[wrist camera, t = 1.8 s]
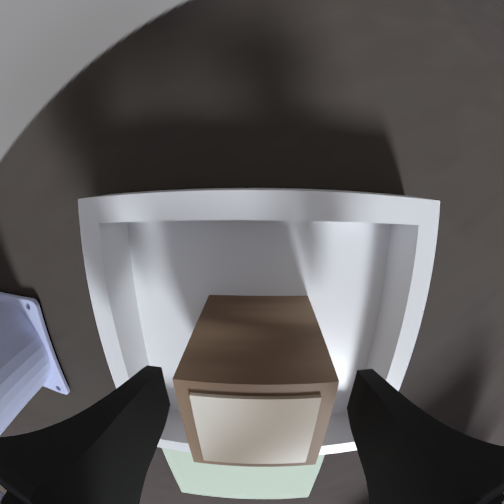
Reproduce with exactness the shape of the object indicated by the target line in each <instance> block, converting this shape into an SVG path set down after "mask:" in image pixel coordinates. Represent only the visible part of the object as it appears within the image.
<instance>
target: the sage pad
mask: <svg viewBox="0 0 504 504" xmlns="http://www.w3.org/2000/svg"><path fill="white" fill-rule="evenodd" d="M162 450H163V452H164V454H165V457H166V459H167V461H168V464H169V466H170V468H171V470H172V473H173V475H174V477H175V479H176V481H177V483H178V485H179V487H180V489H181V491H182V492H185V493H191V494H198V495H205V496H214V497H225V498H241V499H286V498H302V497H308V496H309V494H310V491H311V489H312V487H313V484H314V482H315V479H316V477H317V474H318V472H319V469H320V467H321V464H322V461H323V459H324V456H325V454H323V455H318V458H317V461H316V464H314V465H302V466H282V467H248V466H228V465H216V464H206V463H197V462H194V461H193V457H192V454H191V452H184V451H177V450H171V449H166V448H162Z"/></svg>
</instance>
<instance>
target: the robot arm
mask: <svg viewBox="0 0 504 504" xmlns="http://www.w3.org/2000/svg"><path fill="white" fill-rule="evenodd" d="M42 386H44V387H47V388H49V389H52V390H54V391H57V392H60V393H63V394H66V395H67V394H68V393H69V392H70V389H69V387H68V384H67V382H66V380H65V378H64V375H63V373H62V370H61V368H60V366H59V363H58V360H57V358H56V355H55V352H54V350H53V347H52V344H51V341H50V338H49V335H48V332H47V329H46V326H45V323H44V319H43V316H42V312H41V309H40V305H39V303H38V301H37V300H36V299H34V298H29V297H24V296H18V295H13V294H8V293H3V292H0V435H1V434H2V433H3V431H4V430H5V429H6V428H7V426H8V425H9V424H10V423H11V422H12V420H13V419H14V418H15V417H16V416H17V414H18V413H19V412H20V411H21V410H22V409H23V407H24V406H25V405H26V404H27V403H28V402H29V400H30V399H31V398H32V397H33V396H34V395H35V394H36V393H37V391H38V390H39V389H40V388H41V387H42ZM169 408H170V401H169V397H168V393H167V389H166V385H165V381H164V376H163V372H162V367H156V366H149V365H147V366H145V367H144V368H142V369H141V370H140V371H139V372H137V373H136V374H135V375H133V376H132V377H131V378H130V379H128V380H127V381H126V382H125V383H123V384H122V385H121V386H119V387H118V388H117V389H115V390H114V391H113V392H111V393H110V394H109V395H107V396H106V397H104V398H103V399H101V400H100V401H98V402H97V403H95V404H94V405H92V406H91V407H89V408H87V409H86V410H84V411H82V412H80V413H79V414H77V415H75V416H73V417H71V418H69V419H67V420H64V421H62V422H60V423H57V424H55V425H52V426H49V427H47V428H44V429H41V430H37V431H34V432H30V433H26V434H22V435H16V436H9V437H1V438H0V485H1V486H3V487H4V488H5V489H6V490H7V492H6V494H5V495H4V494H3V493H2V492H1V491H0V504H139V502H140V497H141V492H142V488H143V484H144V480H145V476H146V473H147V470H148V468H149V465H150V463H151V460H152V458H153V455H154V453H155V450H156V448H157V445H158V443H159V440H160V438H161V435H162V433H163V430H164V428H165V425H166V421H167V417H168V413H169ZM347 412H348V418H349V424H350V429H351V432H352V435H353V438H354V442H355V445H356V448H357V451H358V454H359V457H360V460H361V463H362V466H363V470H364V473H365V477H366V481H367V487H368V493H369V500H370V504H502V503H501V502H503V501H504V494H503V492H504V446H498V445H494V444H491V443H487V442H484V441H480V440H477V439H475V438H472V437H469V436H467V435H465V434H462V433H460V432H458V431H456V430H454V429H452V428H450V427H448V426H446V425H445V424H443V423H441V422H439V421H438V420H436V419H434V418H433V417H431V416H430V415H428V414H427V413H425V412H424V411H423V410H421V409H420V408H418V407H417V406H416V405H414V404H413V403H412V402H411V401H409V400H408V399H407V398H406V397H404V396H403V395H402V394H401V393H400V392H398V391H397V390H396V389H395V388H394V387H393V386H392V385H390V384H389V383H388V382H387V381H386V380H385V379H384V378H382V377H381V376H380V375H379V374H378V373H377V372H376V371H374V370H373V369H364V370H357V373H356V377H355V380H354V384H353V388H352V391H351V395H350V398H349V402H348V405H347Z"/></svg>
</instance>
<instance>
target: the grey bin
mask: <svg viewBox="0 0 504 504" xmlns="http://www.w3.org/2000/svg"><path fill="white" fill-rule="evenodd" d="M78 208H79V221H80V232H81V241H82V249H83V256H84V263H85V270H86V276H87V281H88V287H89V292H90V297H91V302H92V306H93V311H94V315H95V319H96V323H97V327H98V331H99V335H100V339H101V342H102V346H103V349H104V353H105V356H106V359H107V362H108V366H109V369H110V372H111V375H112V378H113V381H114V383H115V386H116V389H117V388H118V387H119V386H121V385H122V384H123V383H125V382H126V381H127V380H128V379H130V378H131V377H132V376H133V375H135V374H136V373H137V372H139V371H140V370H141V369H142V368H144V367H145V366H147V365H149V366H156V367H162V372H163V376H164V381H165V385H166V389H167V393H168V397H169V401H170V408H169V413H168V417H167V421H166V425H165V428H164V430H163V433H162V435H161V438H160V440H159V443H158V445H157V447H160V448H166V449H171V450H177V451H184V452H191V451H190V447H189V444H188V440H187V437H186V433H185V430H184V426H183V422H182V418H181V414H180V410H179V406H178V402H177V397H176V393H175V389H174V384H173V376H174V374H175V372H176V369H177V367H178V365H179V362H180V360H181V358H182V355H183V353H184V351H185V348H186V346H187V344H188V341H189V339H190V337H191V335H192V332H193V330H194V328H195V325H196V323H197V321H198V319H199V316H200V314H201V312H202V310H203V307H204V305H205V303H206V301H207V298H208V296H209V295H240V296H308V297H309V300H310V303H311V305H312V308H313V311H314V313H315V316H316V318H317V321H318V324H319V327H320V329H321V332H322V335H323V337H324V340H325V343H326V346H327V348H328V351H329V354H330V357H331V360H332V362H333V365H334V368H335V371H336V374H337V377H338V379H339V385H338V389H337V393H336V397H335V401H334V405H333V409H332V412H331V416H330V420H329V423H328V427H327V430H326V433H325V437H324V440H323V443H322V446H321V449H320V452H319V455H323V454H332V453H340V452H347V451H353V450H357V448H356V445H355V442H354V438H353V435H352V432H351V429H350V424H349V418H348V412H347V405H348V402H349V398H350V395H351V391H352V388H353V384H354V380H355V377H356V373H357V370H364V369H373V370H374V371H376V372H377V373H378V374H379V375H380V376H381V377H382V378H384V379H385V380H386V381H387V382H388V383H389V384H390V385H392V386H393V387H394V388H395V389H396V390H397V391H399V389H400V386H401V383H402V381H403V378H404V375H405V372H406V370H407V367H408V364H409V361H410V358H411V355H412V352H413V348H414V345H415V342H416V338H417V335H418V331H419V328H420V324H421V320H422V316H423V312H424V308H425V304H426V299H427V295H428V290H429V285H430V280H431V274H432V269H433V263H434V256H435V249H436V241H437V233H438V223H439V211H440V201H437V200H432V199H426V198H419V197H413V196H406V195H396V194H385V193H373V192H359V191H343V190H324V189H296V188H206V189H178V190H159V191H143V192H129V193H117V194H108V195H101V196H94V197H88V198H81V199H78Z"/></svg>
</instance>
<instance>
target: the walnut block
mask: <svg viewBox="0 0 504 504" xmlns="http://www.w3.org/2000/svg"><path fill="white" fill-rule="evenodd" d="M173 384H174V389H175V393H176V397H177V402H178V406H179V410H180V414H181V418H182V422H183V426H184V430H185V433H186V437H187V440H188V444H189V447H190V451H191V454H192V457H193V461H194V462H197V463H206V464H216V465H228V466H248V467H282V466H302V465H314V464H316V461H317V458H318V455H319V452H320V449H321V446H322V443H323V440H324V437H325V433H326V430H327V427H328V423H329V420H330V416H331V412H332V409H333V405H334V401H335V397H336V393H337V389H338V385H339V379H338V377H337V374H336V371H335V368H334V365H333V362H332V360H331V357H330V354H329V351H328V348H327V346H326V343H325V340H324V337H323V335H322V332H321V329H320V327H319V324H318V321H317V318H316V316H315V313H314V311H313V308H312V305H311V303H310V300H309V297H308V296H240V295H209V296H208V298H207V301H206V303H205V305H204V307H203V310H202V312H201V314H200V316H199V319H198V321H197V323H196V325H195V328H194V330H193V332H192V335H191V337H190V339H189V341H188V344H187V346H186V348H185V351H184V353H183V355H182V358H181V360H180V362H179V365H178V367H177V369H176V372H175V374H174V376H173Z"/></svg>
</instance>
